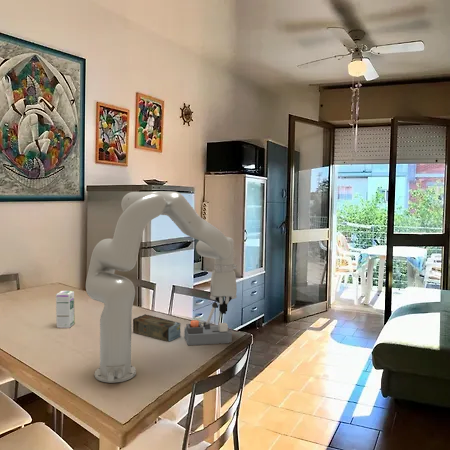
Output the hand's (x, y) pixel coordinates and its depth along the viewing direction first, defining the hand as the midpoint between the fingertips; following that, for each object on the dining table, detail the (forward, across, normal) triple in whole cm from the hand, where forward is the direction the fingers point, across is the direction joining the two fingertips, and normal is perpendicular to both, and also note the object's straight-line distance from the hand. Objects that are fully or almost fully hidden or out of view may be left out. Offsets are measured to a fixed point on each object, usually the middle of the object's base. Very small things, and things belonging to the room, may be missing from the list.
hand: (223, 313), depth 174 cm
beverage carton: (+10, +26, -6) cm, 29 cm away
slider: (+6, +1, +5) cm, 8 cm away
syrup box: (+9, +63, -23) cm, 68 cm away
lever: (+5, +7, 0) cm, 8 cm away
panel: (+10, +7, +3) cm, 12 cm away
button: (+5, +12, +4) cm, 14 cm away
